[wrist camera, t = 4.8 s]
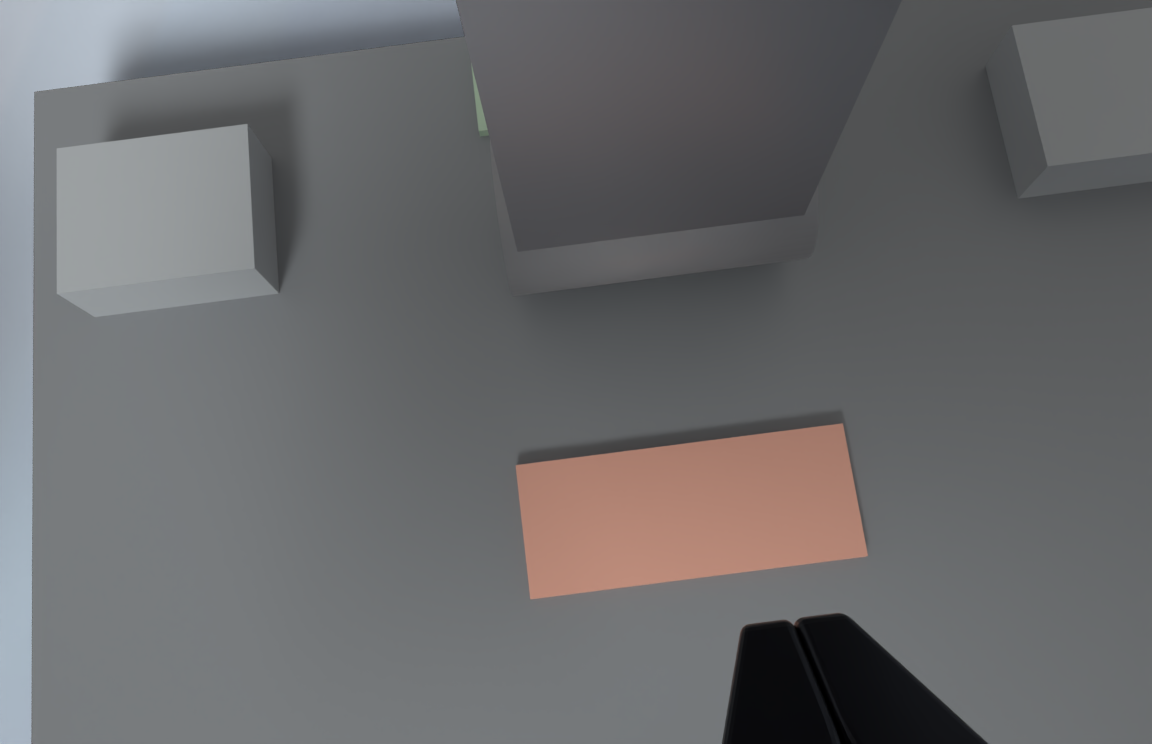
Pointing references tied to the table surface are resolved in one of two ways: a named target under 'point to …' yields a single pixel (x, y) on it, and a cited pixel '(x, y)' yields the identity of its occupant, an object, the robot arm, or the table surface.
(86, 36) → the table surface
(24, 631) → the table surface
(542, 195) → the handle
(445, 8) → the table surface
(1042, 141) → the panel
